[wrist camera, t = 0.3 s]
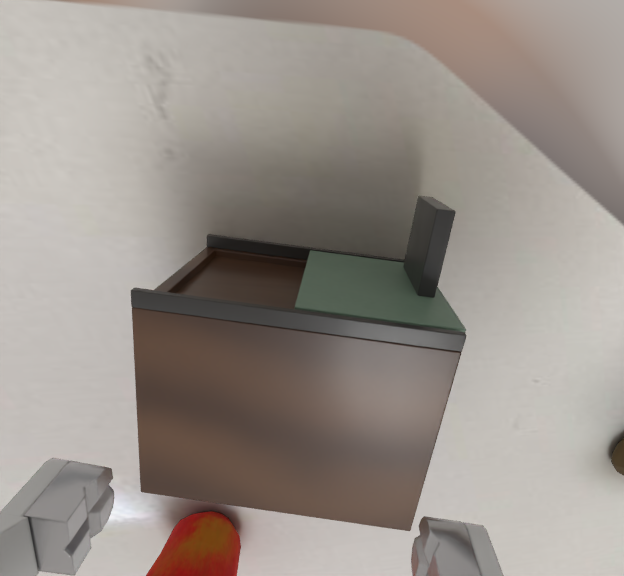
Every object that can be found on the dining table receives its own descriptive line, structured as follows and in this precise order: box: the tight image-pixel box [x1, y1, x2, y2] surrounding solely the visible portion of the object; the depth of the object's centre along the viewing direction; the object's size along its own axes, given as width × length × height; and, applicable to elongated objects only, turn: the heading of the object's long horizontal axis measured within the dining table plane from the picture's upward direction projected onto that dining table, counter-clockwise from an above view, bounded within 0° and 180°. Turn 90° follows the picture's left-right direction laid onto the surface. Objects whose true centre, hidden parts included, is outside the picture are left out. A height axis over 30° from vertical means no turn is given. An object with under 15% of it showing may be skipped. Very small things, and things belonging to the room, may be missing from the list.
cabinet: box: [131, 234, 466, 531], centre depth 27 cm, size 13×16×12 cm
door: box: [294, 196, 466, 333], centre depth 23 cm, size 6×8×11 cm, turn 83°
